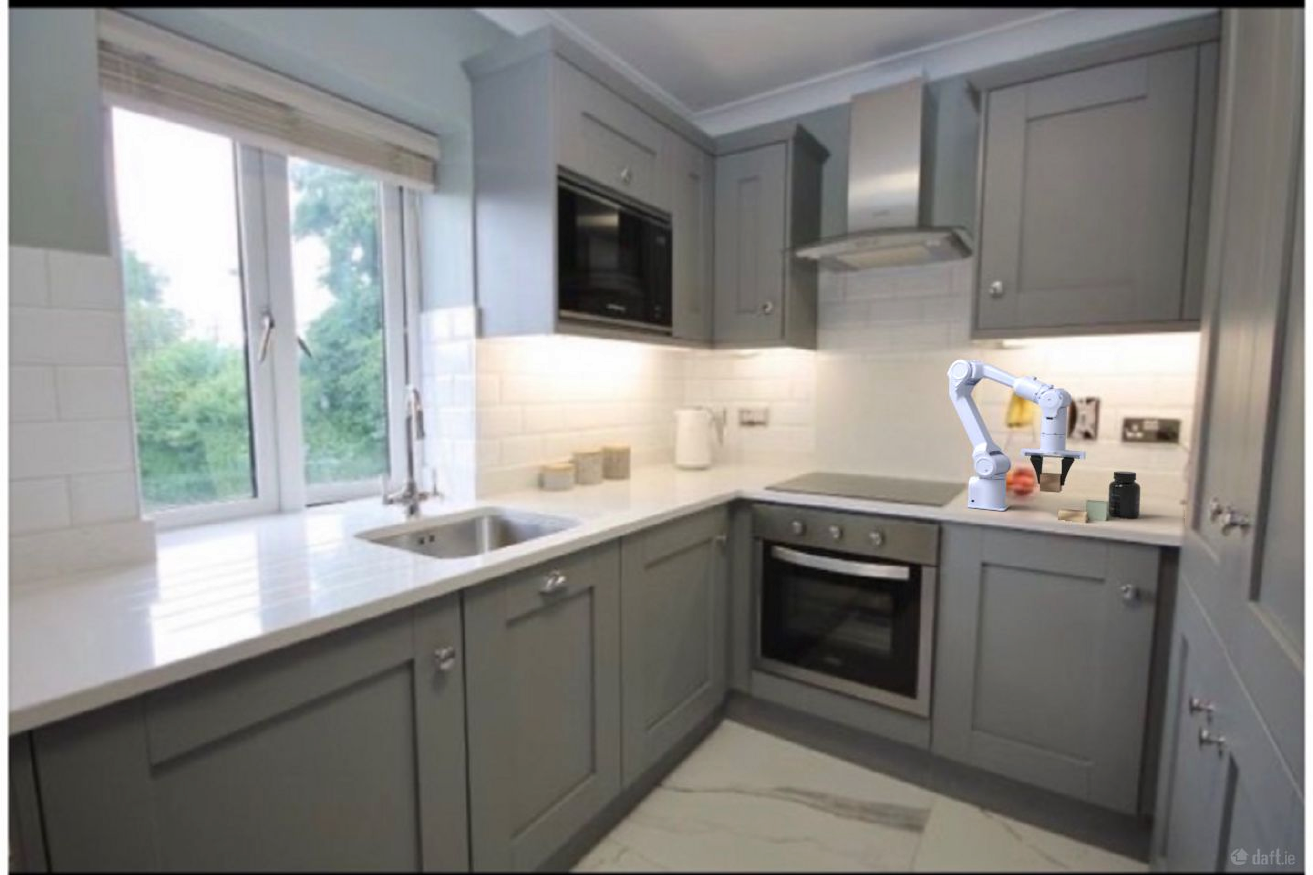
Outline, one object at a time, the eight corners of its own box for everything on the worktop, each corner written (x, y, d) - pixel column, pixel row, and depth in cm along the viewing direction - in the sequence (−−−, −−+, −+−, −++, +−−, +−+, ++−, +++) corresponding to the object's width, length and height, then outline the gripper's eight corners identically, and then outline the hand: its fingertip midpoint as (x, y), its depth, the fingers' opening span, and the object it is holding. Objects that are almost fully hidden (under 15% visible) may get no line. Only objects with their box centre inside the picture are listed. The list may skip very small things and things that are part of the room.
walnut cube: (1039, 491, 168) (1040, 474, 168) (1042, 489, 172) (1042, 472, 172) (1059, 492, 166) (1059, 475, 165) (1061, 490, 169) (1062, 473, 169)
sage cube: (1085, 518, 167) (1085, 502, 167) (1087, 516, 171) (1087, 499, 170) (1105, 521, 164) (1106, 504, 164) (1107, 518, 168) (1108, 501, 167)
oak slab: (1057, 521, 166) (1058, 512, 165) (1060, 517, 170) (1061, 508, 170) (1085, 524, 162) (1085, 514, 162) (1087, 520, 166) (1087, 511, 166)
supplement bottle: (1125, 513, 173) (1127, 470, 172) (1145, 518, 166) (1148, 474, 165) (1101, 514, 173) (1103, 470, 172) (1120, 519, 166) (1123, 474, 165)
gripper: (1019, 433, 169) (1017, 483, 170) (1084, 436, 160) (1081, 488, 161) (1024, 432, 174) (1022, 480, 176) (1087, 434, 165) (1084, 485, 167)
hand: (1050, 484), depth 169 cm, fingers closed on walnut cube, 4 cm apart
